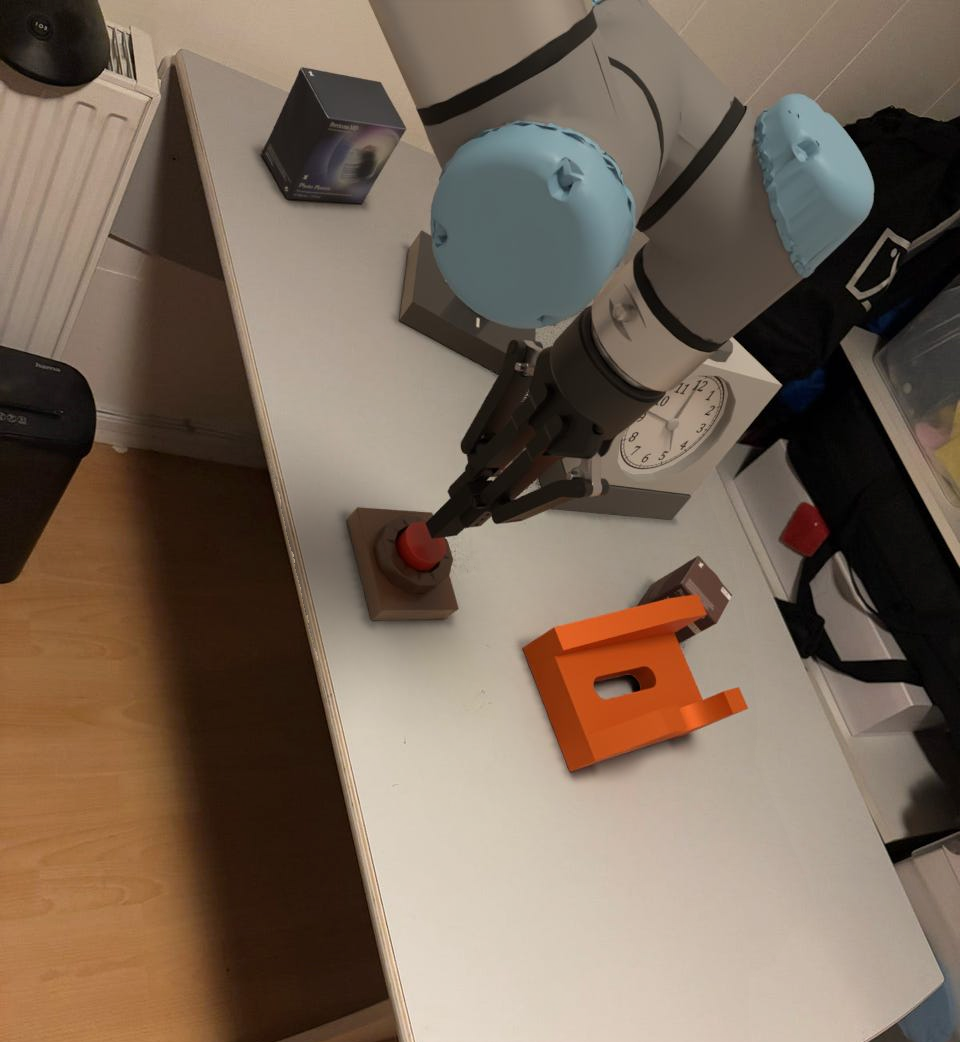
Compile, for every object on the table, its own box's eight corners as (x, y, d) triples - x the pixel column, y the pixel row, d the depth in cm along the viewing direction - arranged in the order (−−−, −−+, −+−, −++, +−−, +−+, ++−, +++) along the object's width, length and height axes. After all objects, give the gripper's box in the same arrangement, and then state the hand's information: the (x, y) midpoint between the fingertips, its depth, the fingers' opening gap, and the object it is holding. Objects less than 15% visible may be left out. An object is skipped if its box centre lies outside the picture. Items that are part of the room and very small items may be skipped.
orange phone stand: (642, 626, 92) (697, 594, 86) (687, 734, 89) (748, 708, 83) (522, 647, 81) (577, 612, 75) (569, 771, 78) (630, 745, 72)
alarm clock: (548, 508, 91) (683, 396, 76) (510, 388, 96) (630, 260, 81) (671, 519, 104) (809, 425, 89) (632, 413, 108) (756, 306, 93)
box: (631, 611, 92) (680, 581, 87) (651, 582, 96) (698, 553, 91) (667, 651, 93) (717, 624, 88) (685, 621, 97) (734, 594, 92)
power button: (402, 571, 72) (412, 562, 70) (391, 530, 73) (401, 520, 71) (440, 572, 74) (451, 562, 73) (429, 532, 75) (439, 522, 74)
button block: (370, 620, 72) (392, 601, 69) (346, 519, 75) (366, 496, 72) (446, 619, 77) (470, 600, 74) (420, 523, 80) (442, 502, 77)
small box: (287, 203, 87) (328, 118, 79) (258, 152, 88) (296, 63, 80) (365, 207, 94) (410, 128, 86) (338, 160, 95) (380, 78, 87)
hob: (398, 320, 90) (413, 300, 87) (408, 249, 96) (422, 228, 93) (520, 386, 97) (536, 369, 95) (521, 315, 103) (537, 298, 101)
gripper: (548, 256, 52) (376, 464, 69) (636, 436, 49) (435, 605, 67) (625, 269, 57) (446, 461, 74) (709, 434, 54) (503, 592, 72)
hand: (441, 529), depth 70 cm, fingers closed
